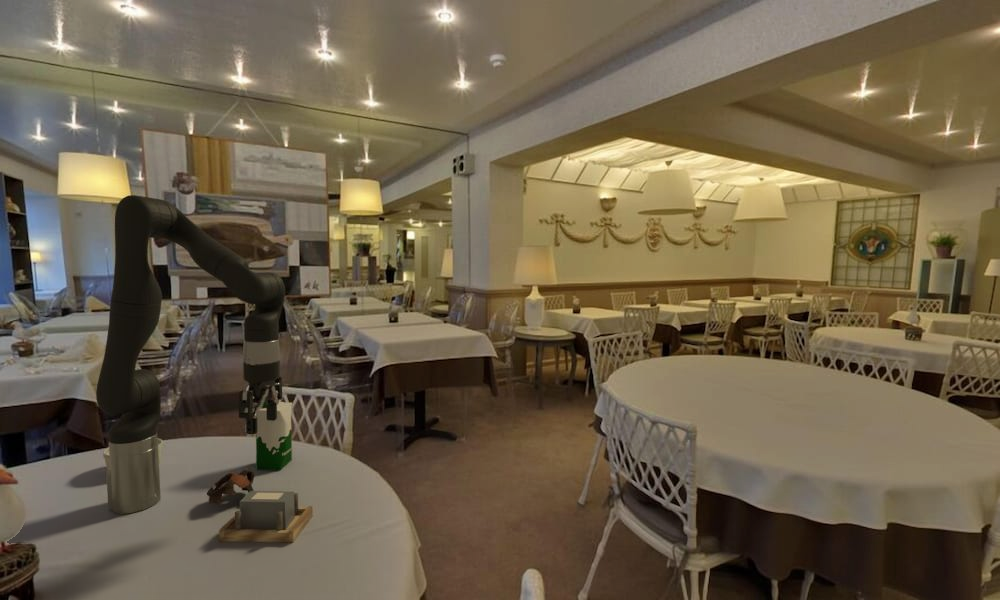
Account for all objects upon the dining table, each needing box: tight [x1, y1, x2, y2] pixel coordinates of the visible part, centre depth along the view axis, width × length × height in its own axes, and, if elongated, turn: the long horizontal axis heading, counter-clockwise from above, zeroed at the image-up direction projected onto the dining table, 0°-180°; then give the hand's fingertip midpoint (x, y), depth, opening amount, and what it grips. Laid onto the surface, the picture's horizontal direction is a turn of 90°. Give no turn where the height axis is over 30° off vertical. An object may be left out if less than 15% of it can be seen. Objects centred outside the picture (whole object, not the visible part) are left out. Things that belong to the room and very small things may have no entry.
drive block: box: [239, 490, 295, 530], centre depth 102 cm, size 10×4×7 cm, turn 91°
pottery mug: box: [206, 468, 255, 504], centre depth 113 cm, size 12×10×8 cm
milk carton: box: [253, 401, 293, 471], centre depth 132 cm, size 9×9×20 cm
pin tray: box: [218, 492, 313, 543], centre depth 102 cm, size 16×10×6 cm, turn 90°
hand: (262, 426), depth 105 cm, fingers open, 8 cm apart
